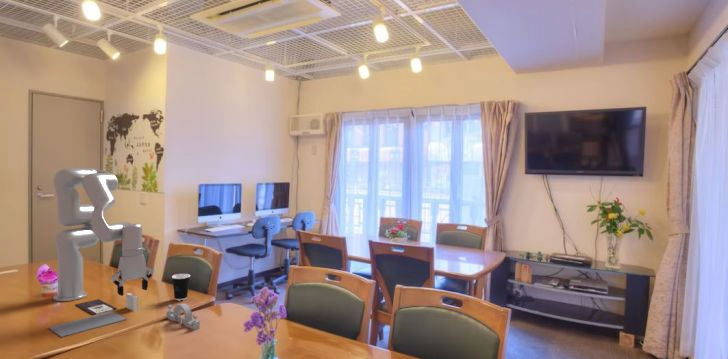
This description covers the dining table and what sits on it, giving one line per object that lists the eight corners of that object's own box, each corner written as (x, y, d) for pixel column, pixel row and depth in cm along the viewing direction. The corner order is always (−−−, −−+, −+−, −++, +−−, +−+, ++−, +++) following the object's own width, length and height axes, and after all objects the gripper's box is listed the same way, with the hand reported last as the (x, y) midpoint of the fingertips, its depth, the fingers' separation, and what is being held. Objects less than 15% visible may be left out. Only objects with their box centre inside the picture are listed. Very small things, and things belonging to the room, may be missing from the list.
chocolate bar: (98, 299, 185) (116, 308, 174) (98, 301, 185) (116, 310, 175) (75, 304, 178) (92, 314, 167) (75, 306, 178) (92, 316, 167)
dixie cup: (171, 302, 184) (171, 278, 184) (171, 297, 192) (172, 274, 191) (190, 301, 187) (190, 277, 187) (190, 295, 195) (190, 273, 194)
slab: (125, 307, 177) (126, 293, 177) (130, 306, 179) (130, 292, 178) (133, 311, 173) (133, 297, 173) (137, 310, 174) (138, 296, 174)
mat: (48, 328, 153) (48, 327, 153) (112, 312, 171) (112, 311, 171) (61, 337, 146) (61, 336, 146) (126, 319, 163) (126, 318, 163)
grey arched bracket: (166, 319, 166) (166, 299, 166) (171, 317, 168) (172, 298, 168) (194, 331, 155) (194, 310, 155) (199, 329, 157) (199, 308, 157)
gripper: (148, 248, 184) (149, 286, 184) (106, 255, 170) (107, 295, 170) (157, 250, 180) (157, 289, 180) (114, 257, 166) (115, 299, 166)
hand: (133, 292), depth 175 cm, fingers open, 9 cm apart
